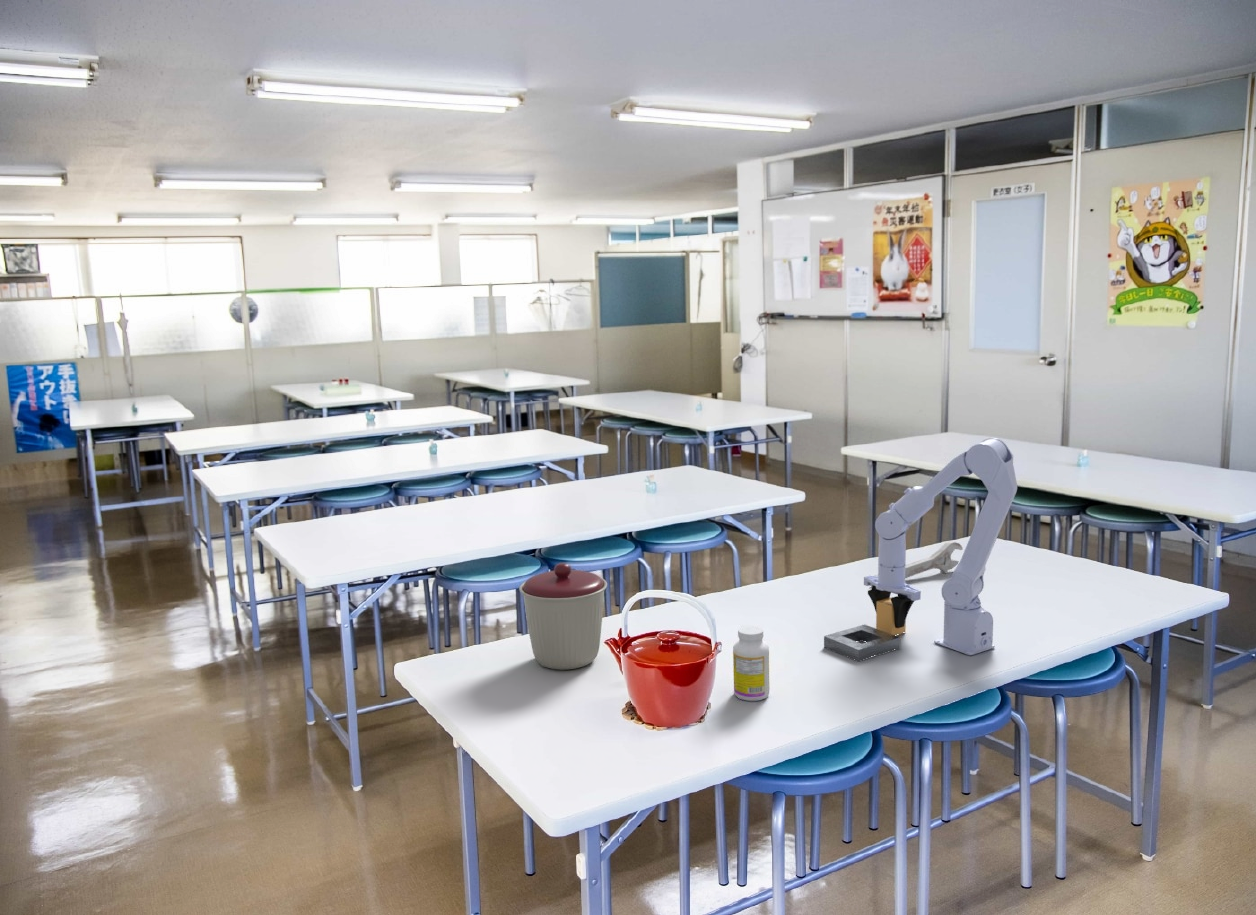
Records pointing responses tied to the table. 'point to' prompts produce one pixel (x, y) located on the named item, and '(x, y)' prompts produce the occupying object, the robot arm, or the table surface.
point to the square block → (887, 617)
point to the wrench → (935, 561)
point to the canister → (564, 616)
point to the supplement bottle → (751, 664)
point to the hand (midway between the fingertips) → (890, 623)
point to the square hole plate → (849, 647)
